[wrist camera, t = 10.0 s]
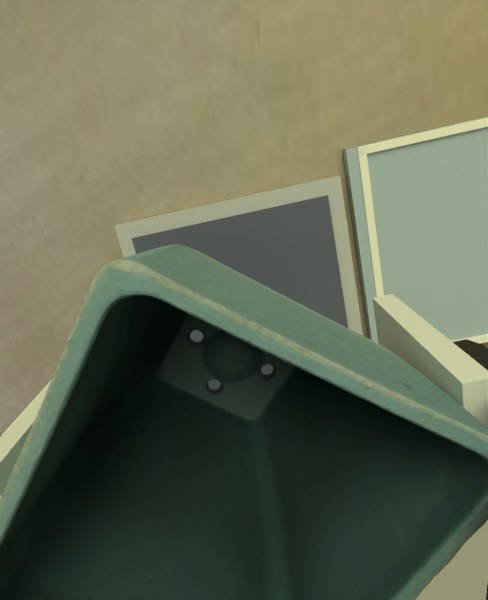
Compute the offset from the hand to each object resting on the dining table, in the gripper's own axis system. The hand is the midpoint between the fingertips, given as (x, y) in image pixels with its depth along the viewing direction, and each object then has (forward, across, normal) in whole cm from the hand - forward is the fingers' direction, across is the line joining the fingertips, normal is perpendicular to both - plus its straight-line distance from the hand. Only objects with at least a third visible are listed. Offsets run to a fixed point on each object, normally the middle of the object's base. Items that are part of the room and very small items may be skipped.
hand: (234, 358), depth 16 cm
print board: (+8, +14, +1) cm, 16 cm away
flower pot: (+1, 0, 0) cm, 1 cm away
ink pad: (+8, +1, 0) cm, 8 cm away
